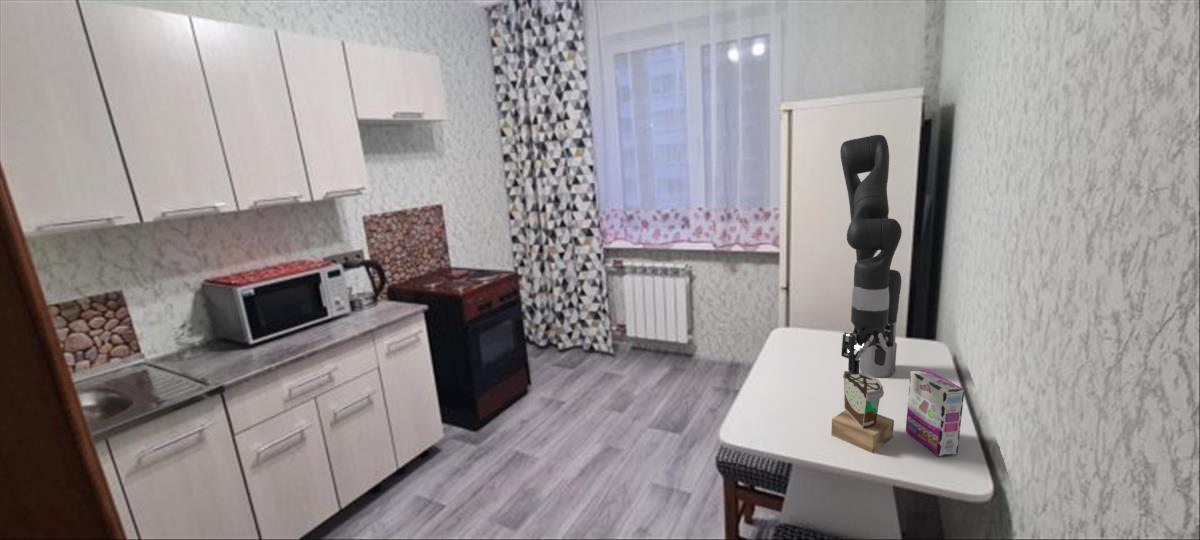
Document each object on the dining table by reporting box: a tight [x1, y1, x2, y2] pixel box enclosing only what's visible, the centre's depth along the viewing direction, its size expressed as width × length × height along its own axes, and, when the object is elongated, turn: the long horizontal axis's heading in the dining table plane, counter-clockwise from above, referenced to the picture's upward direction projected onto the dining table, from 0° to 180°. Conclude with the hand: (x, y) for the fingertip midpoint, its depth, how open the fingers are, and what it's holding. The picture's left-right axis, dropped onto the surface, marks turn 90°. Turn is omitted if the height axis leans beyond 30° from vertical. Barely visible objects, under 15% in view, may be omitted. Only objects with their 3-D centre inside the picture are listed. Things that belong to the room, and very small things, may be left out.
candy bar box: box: [905, 369, 965, 458], centre depth 114 cm, size 11×5×16 cm, turn 5°
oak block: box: [830, 409, 895, 454], centre depth 120 cm, size 10×10×5 cm
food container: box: [842, 370, 885, 429], centre depth 119 cm, size 12×6×10 cm, turn 179°
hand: (866, 368), depth 116 cm, fingers open, 8 cm apart
